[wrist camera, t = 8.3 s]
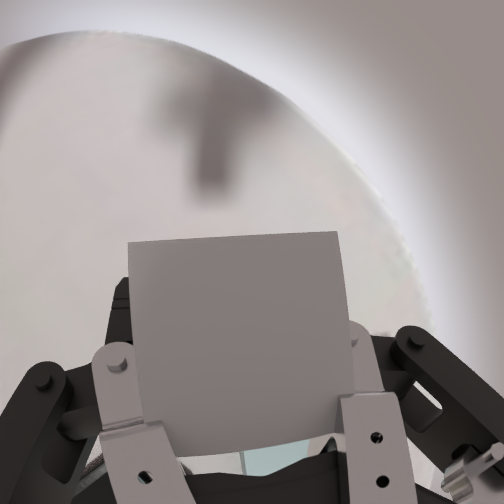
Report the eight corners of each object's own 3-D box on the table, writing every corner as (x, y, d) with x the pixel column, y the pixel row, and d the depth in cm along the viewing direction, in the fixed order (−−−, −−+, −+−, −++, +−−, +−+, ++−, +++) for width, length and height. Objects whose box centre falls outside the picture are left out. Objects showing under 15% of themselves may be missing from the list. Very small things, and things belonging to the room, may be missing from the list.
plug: (177, 373, 14) (151, 457, 5) (170, 292, 15) (127, 242, 5) (258, 366, 15) (356, 426, 5) (250, 286, 16) (337, 231, 6)
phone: (50, 499, 19) (137, 433, 23) (53, 495, 20) (139, 429, 24) (106, 546, 19) (200, 487, 23) (108, 541, 20) (200, 482, 24)
